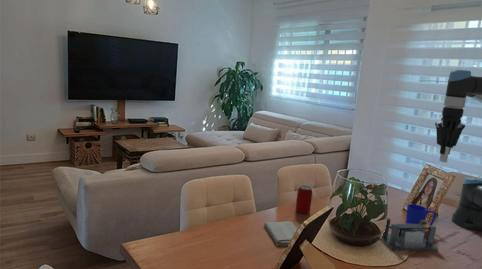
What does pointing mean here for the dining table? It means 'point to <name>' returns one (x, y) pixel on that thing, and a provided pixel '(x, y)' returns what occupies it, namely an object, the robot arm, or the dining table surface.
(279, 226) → the washcloth
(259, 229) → the dining table surface
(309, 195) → the beverage can
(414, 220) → the mug
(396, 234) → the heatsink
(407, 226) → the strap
